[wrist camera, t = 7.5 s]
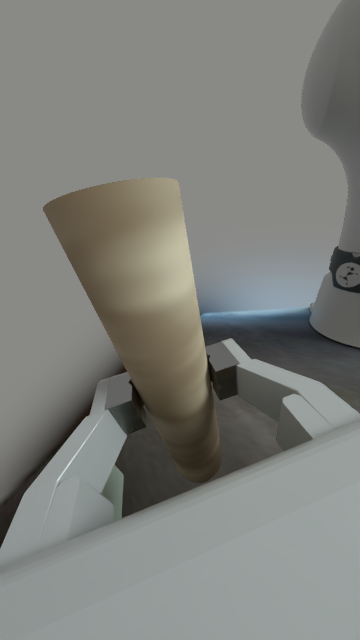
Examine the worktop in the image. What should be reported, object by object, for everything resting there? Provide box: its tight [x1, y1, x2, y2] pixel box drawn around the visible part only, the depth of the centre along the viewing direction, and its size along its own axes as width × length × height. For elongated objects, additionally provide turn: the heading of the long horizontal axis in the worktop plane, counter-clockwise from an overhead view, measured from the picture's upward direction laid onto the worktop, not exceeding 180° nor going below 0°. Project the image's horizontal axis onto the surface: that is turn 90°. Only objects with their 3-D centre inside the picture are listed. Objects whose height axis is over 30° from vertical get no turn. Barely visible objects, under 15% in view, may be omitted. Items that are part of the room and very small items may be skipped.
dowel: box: [43, 178, 222, 483], centre depth 8 cm, size 3×3×14 cm
